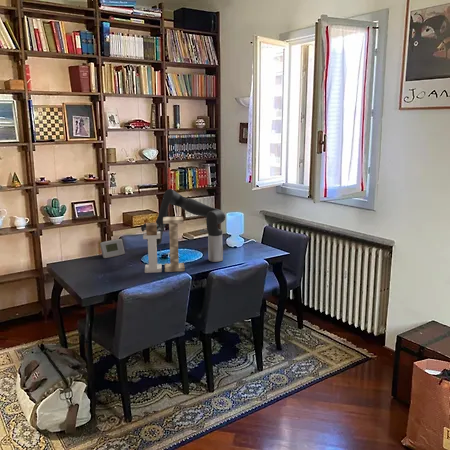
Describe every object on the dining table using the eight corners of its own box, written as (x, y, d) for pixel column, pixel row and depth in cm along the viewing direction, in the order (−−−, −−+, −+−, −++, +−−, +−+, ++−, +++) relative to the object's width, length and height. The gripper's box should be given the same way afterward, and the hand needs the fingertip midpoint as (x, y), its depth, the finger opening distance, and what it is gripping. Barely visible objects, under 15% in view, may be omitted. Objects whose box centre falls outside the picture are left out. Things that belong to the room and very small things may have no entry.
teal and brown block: (157, 227, 295) (157, 218, 294) (156, 235, 276) (156, 225, 275) (147, 227, 295) (147, 218, 293) (146, 235, 275) (146, 225, 274)
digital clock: (102, 259, 307) (101, 243, 304) (99, 255, 314) (98, 240, 312) (126, 255, 314) (125, 240, 312) (122, 252, 322) (121, 237, 320)
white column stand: (161, 266, 290) (160, 231, 285) (161, 272, 280) (160, 235, 275) (145, 267, 289) (143, 231, 284) (144, 272, 279) (143, 235, 274)
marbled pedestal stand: (184, 266, 292) (182, 216, 284) (184, 271, 282) (183, 219, 275) (164, 266, 290) (163, 217, 283) (164, 271, 281) (163, 220, 273)
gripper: (142, 226, 302) (140, 219, 287) (164, 226, 304) (163, 218, 289) (142, 237, 300) (140, 230, 285) (164, 237, 302) (163, 230, 286)
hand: (152, 224), depth 287 cm, fingers open, 8 cm apart
